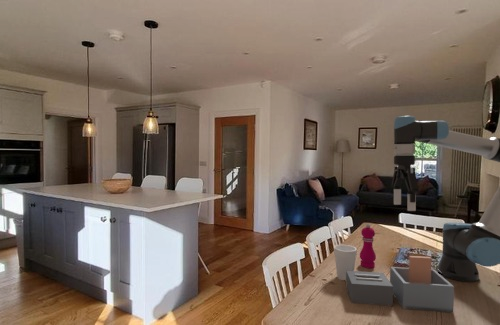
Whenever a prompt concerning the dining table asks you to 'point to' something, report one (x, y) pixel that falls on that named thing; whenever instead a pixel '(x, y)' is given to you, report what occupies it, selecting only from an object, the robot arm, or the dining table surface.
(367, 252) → the pepper mill
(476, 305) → the dining table surface
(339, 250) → the foam cup
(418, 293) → the bin
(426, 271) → the terracotta flat slab
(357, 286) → the dispenser
